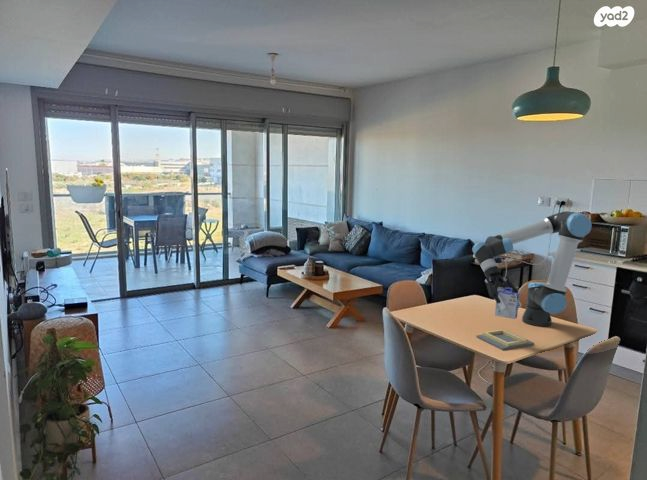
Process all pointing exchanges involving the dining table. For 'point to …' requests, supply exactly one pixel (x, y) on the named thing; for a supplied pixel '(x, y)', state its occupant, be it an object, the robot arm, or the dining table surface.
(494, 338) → the dock
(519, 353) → the dining table surface
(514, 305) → the ink cartridge box
